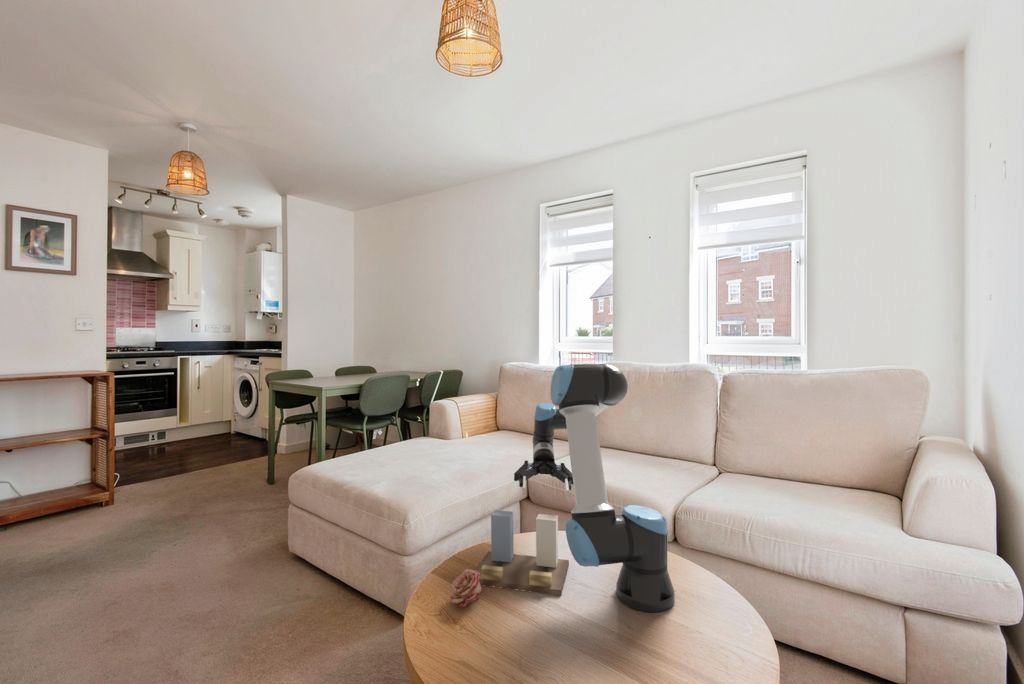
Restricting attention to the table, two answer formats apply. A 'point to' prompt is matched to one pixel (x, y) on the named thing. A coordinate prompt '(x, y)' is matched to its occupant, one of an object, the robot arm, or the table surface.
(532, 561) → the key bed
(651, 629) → the table surface
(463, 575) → the flower
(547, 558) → the key cream
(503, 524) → the light blue tall block
